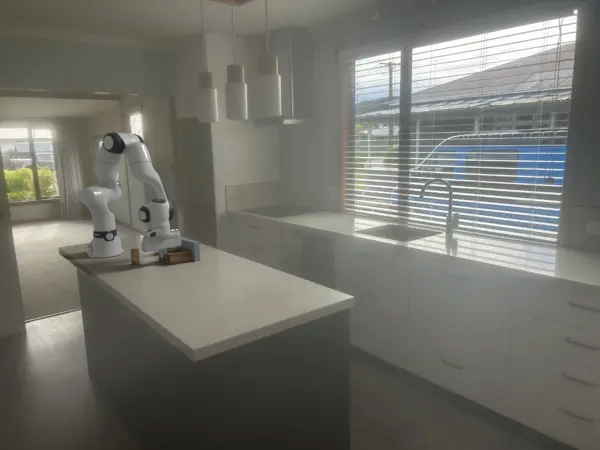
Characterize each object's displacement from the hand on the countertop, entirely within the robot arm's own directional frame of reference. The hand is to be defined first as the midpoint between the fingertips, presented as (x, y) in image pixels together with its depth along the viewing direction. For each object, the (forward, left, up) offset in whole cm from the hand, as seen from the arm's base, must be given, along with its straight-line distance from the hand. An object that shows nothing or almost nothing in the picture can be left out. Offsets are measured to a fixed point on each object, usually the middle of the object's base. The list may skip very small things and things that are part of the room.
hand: (163, 257), depth 223 cm
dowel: (-9, -10, -3) cm, 14 cm away
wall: (0, +15, -3) cm, 15 cm away
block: (0, +7, -3) cm, 8 cm away
